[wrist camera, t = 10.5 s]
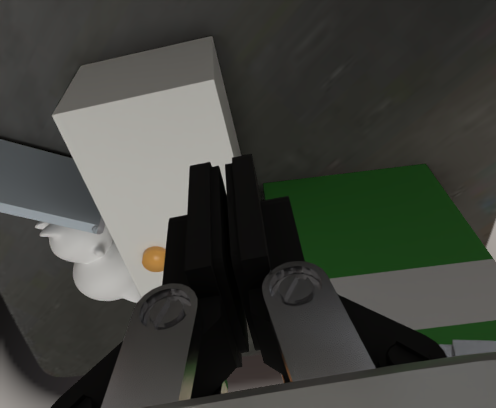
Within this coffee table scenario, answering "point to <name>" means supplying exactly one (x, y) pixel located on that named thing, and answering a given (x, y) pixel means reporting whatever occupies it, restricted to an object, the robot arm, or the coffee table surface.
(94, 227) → the side door
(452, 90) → the coffee table surface
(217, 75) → the white rectangular box
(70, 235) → the cat figurine
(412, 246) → the hardback book
